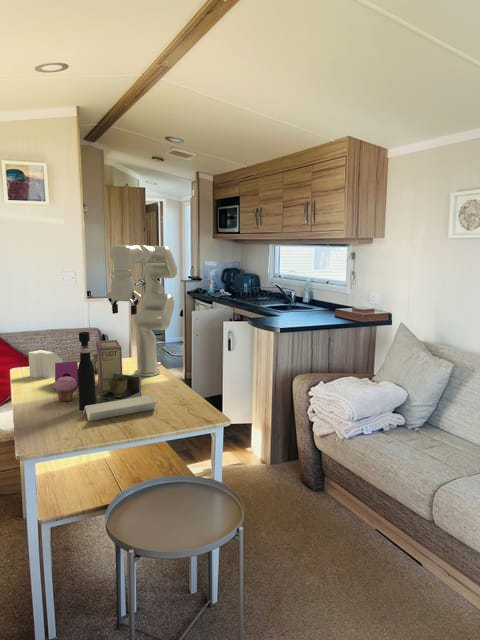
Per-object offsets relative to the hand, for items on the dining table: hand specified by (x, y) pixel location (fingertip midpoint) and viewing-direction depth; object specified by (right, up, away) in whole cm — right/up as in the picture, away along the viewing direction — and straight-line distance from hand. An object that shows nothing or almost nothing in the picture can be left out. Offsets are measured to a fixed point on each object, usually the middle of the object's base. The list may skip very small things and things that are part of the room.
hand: (124, 313), depth 210 cm
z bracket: (+5, -38, -27) cm, 47 cm away
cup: (+1, -35, -12) cm, 37 cm away
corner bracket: (-44, -30, +26) cm, 59 cm away
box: (-8, -33, +5) cm, 34 cm away
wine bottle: (-9, -37, -22) cm, 44 cm away
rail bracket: (+1, -36, -12) cm, 38 cm away
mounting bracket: (-27, -33, +7) cm, 44 cm away
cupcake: (-21, -36, -12) cm, 43 cm away
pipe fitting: (-21, -29, +35) cm, 50 cm away
